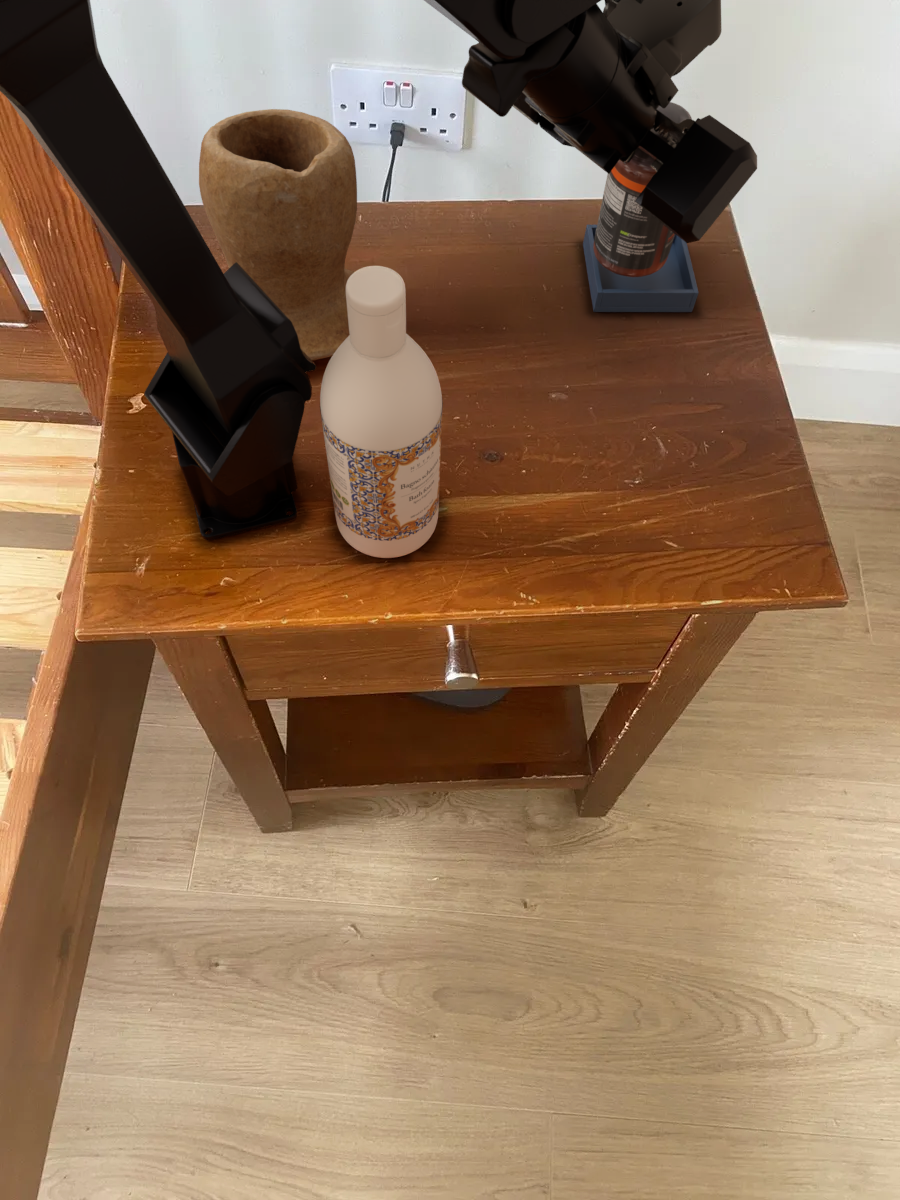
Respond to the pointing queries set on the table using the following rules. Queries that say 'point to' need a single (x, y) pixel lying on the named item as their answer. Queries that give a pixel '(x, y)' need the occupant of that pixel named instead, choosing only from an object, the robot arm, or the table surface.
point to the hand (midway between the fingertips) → (662, 172)
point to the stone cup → (285, 214)
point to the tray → (642, 283)
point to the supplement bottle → (633, 215)
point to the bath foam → (382, 423)
